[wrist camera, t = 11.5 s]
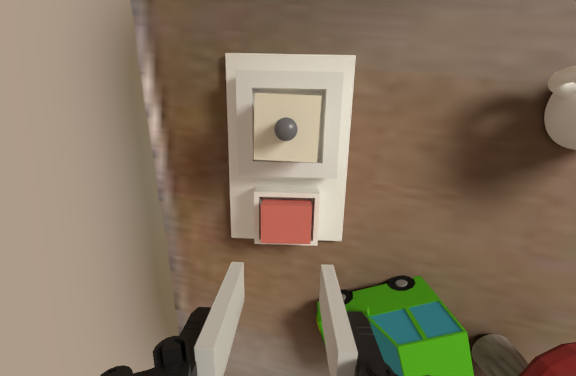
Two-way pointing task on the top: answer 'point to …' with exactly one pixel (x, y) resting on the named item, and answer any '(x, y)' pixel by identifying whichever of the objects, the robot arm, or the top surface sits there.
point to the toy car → (411, 328)
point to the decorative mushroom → (522, 359)
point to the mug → (562, 108)
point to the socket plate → (288, 174)
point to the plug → (286, 127)
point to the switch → (286, 221)
